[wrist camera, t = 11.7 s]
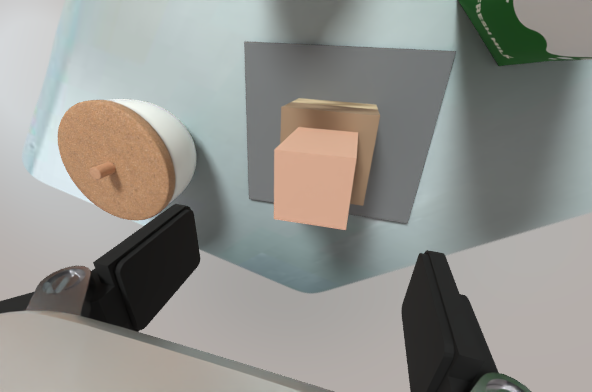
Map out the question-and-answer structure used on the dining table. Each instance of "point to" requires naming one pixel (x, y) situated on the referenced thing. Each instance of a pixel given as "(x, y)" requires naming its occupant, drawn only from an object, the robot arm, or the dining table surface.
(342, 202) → the terracotta block
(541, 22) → the milk carton
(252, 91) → the rubber mat
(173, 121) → the lidded bowl
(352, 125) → the walnut slab
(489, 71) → the dining table surface
